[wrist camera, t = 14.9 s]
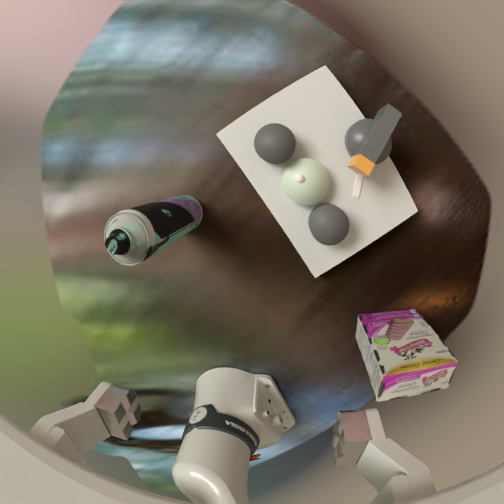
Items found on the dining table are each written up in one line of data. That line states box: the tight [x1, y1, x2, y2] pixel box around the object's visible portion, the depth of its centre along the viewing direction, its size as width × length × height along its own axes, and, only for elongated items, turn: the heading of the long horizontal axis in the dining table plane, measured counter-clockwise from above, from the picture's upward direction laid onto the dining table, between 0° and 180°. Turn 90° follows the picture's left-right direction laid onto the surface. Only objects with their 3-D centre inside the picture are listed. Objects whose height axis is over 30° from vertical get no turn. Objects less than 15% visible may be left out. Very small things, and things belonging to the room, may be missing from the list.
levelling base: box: [216, 66, 418, 278], centre depth 35 cm, size 24×18×6 cm
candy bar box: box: [355, 308, 458, 402], centre depth 35 cm, size 11×5×16 cm, turn 95°
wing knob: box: [345, 104, 402, 176], centre depth 30 cm, size 9×6×6 cm, turn 151°
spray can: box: [104, 195, 203, 266], centre depth 32 cm, size 6×6×20 cm
